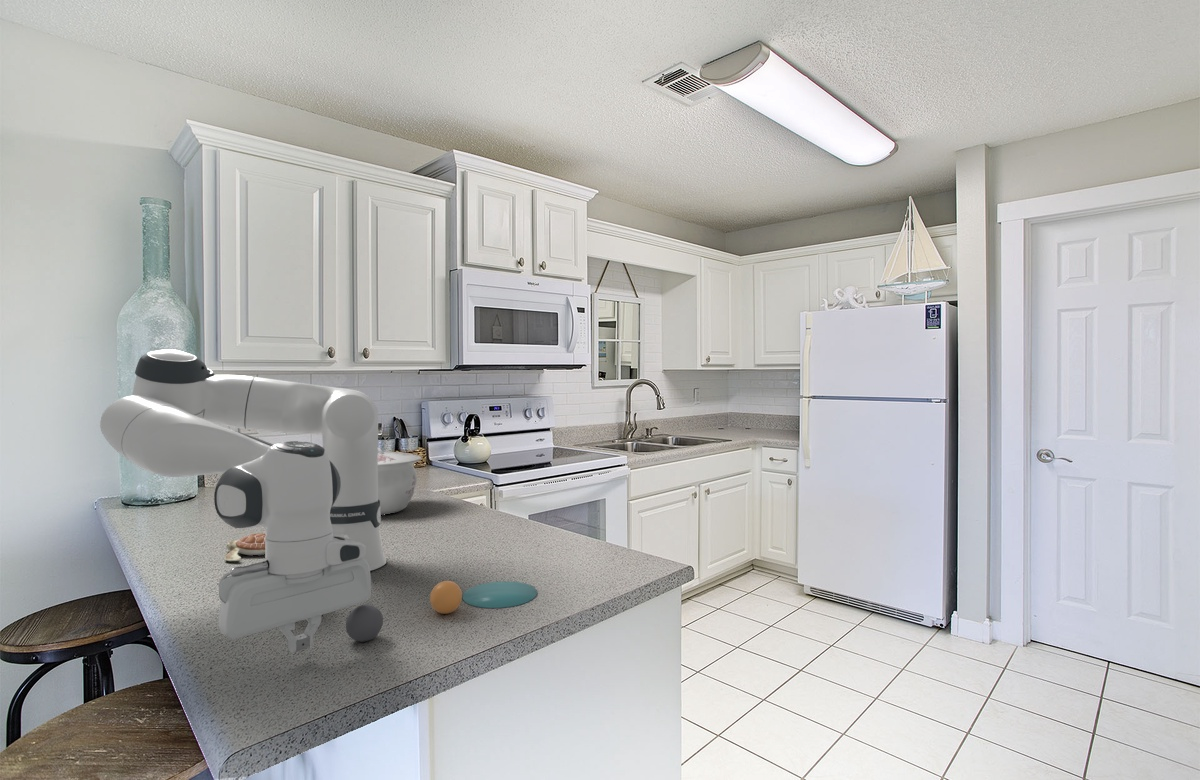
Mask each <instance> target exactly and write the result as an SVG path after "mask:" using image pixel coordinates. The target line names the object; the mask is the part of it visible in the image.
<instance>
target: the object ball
mask: <svg viewBox="0 0 1200 780" xmlns="http://www.w3.org/2000/svg"><path fill="white" fill-rule="evenodd" d="M429 595H430V596H429V602H430V605H431V607H432V609H433V610H434V611H435V612H437V613H439V614H444V615H446V614H447V615H448V614H450V613H453V612H455V611H456V610H457V609H458V608H459V607H460V605H461V603H462V601H463V598H462V596H463V592H462V589H461V587H460V586H459V585H458V584H457V583H456V582H454V581H452V580H444V581H440V582H438V583H437V584H435V586H433V588H432V589H431V592H430V594H429Z"/></svg>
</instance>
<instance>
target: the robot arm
mask: <svg viewBox="0 0 1200 780" xmlns="http://www.w3.org/2000/svg"><path fill="white" fill-rule="evenodd" d="M134 374H135V379H134V383H133V389H132V395H127V396H124V397H121V398H118V399H117V400H115V401H113V402H112V403H110V404H109V405H107V407H106V408H105V410H104V411H103V413H102V415H101V417H100V422H99V424H100V425H99V427H100V431H101V434H102V435H103V437H104V438H105V440H106V441H107V442H108V444H110V446H112V448H113V449H114V450H115V451H116V452H117V453H119V455H121V456H122V457H123V458H125V459H126V460H127V461H129V462H130V463H131V464H134V465H135V466H136V467H137V468H138V467H139V468H140V469H141V470H144V471H146V472H148V473H151V474H154V475H159V476H162V477H168V478H183V477H184V478H185V477H195V476H206V475H219V474H222V475H221V476H220V478H219V479H218V481H217V484H216V486H215V489H214V495H213V497H214V499H213V500H214V501H213V502H214V508H215V511H216V513H217V515H218V517H219V518H220V519H221V520H222V521H223V522H224V523H225V524H227V525H228V526H230V527H232V528H235V529H254V528H257V527H264V528H265V534H266V536H265V555H264V557H265V558H264V560H263V561H260V562H255V563H251V564H249V565H248V564H247V565H244V566H241V565H240V566H236V567H233V568H231V569H230V571H228V572H226V573H225V574H224V575H223V576H222V577H221V578H220V579H219V582H218V599H219V600H220V601H221V602H220V607H219V617H218V630H219V632H220V633H221V634H222V635H223V636H225V637H226V638H227V639H229V640H233V641H234V640H238V639H241V638H245V637H248V636H252V635H255V634H258V633H262V632H266V631H269V630H272V629H277V628H279V630H280V631H281V632H282V634H283V635H284V637H285V639H287V649H288V652H290V653H291V654H294V653H296V652H300V651H302V650H303V651H304V650H306V649H309V648H312V647H314V636H315V634H316V632H317V631H318V628H319V626H320V625H321V623H322V615H326V614H328V613H332V612H336V611H340V610H344V609H347V608H350V607H353V606H357V605H362V604H364V603H367V601H368V600H369V598H370V597H371V595H372V579H371V578H372V577H371V571H374V570H377V569H379V568H381V567H383V566H384V565H385V564H387V558H386V556H385V552H384V547H383V545H382V544H383V542H382V538H381V532H380V530H381V528H380V525H381V521H382V516H381V506H380V500H379V499H378V452H379V451H378V447H379V411H378V407H377V405H376V403H375V401H374V399H372V398H371V397H370V396H369V395H367V394H366V393H365V392H362V391H361V390H357V389H352V388H345V387H344V388H343V387H336V386H327V385H321V384H320V385H319V384H312V383H303V382H299V381H298V382H297V381H291V380H290V381H289V380H281V379H275V378H268V377H261V376H251V375H241V374H239V375H238V374H215V373H214V371H213V370H212V369H210V368H208V367H207V365H206V364H205V362H203V361H202V360H201V359H200V358H199V357H197V356H196V355H194V354H193V353H189V352H185V351H183V350H178V349H172V348H171V349H170V348H169V349H157V350H151V351H148V352H146V353H144V354H142V355H141V356H140V358H139V359H138V362H137V364H136V368H135V371H134ZM229 427H230V428H229ZM231 428H235V429H242V430H251V431H261V432H269V433H271V432H272V433H280V434H290V435H291V434H293V435H294V434H297V435H310V436H311V435H313V436H321V437H322V446H321V445H319V444H316V443H314V442H310V441H299V440H289V441H287V440H285V441H280V442H277V443H274V444H273V443H272V442H271V443H270V442H269V441H266V440H263V439H261V438H257V437H256V436H252V435H249V434H245V433H242V432H240V431H237V430H233V429H231ZM304 620H306V621H307V622H308V623H307V625H306V627H305V629H304V631H303V633H300V634H297V635H295V634H294V633H293V630H294V631H295V629H296V623H299V622H301V621H304Z"/></svg>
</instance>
